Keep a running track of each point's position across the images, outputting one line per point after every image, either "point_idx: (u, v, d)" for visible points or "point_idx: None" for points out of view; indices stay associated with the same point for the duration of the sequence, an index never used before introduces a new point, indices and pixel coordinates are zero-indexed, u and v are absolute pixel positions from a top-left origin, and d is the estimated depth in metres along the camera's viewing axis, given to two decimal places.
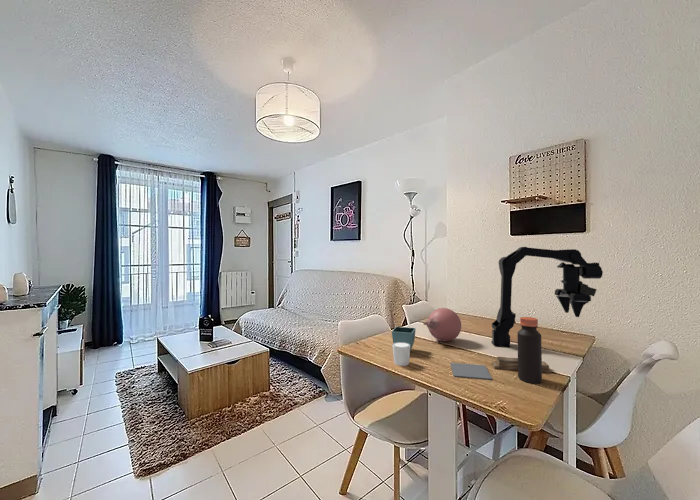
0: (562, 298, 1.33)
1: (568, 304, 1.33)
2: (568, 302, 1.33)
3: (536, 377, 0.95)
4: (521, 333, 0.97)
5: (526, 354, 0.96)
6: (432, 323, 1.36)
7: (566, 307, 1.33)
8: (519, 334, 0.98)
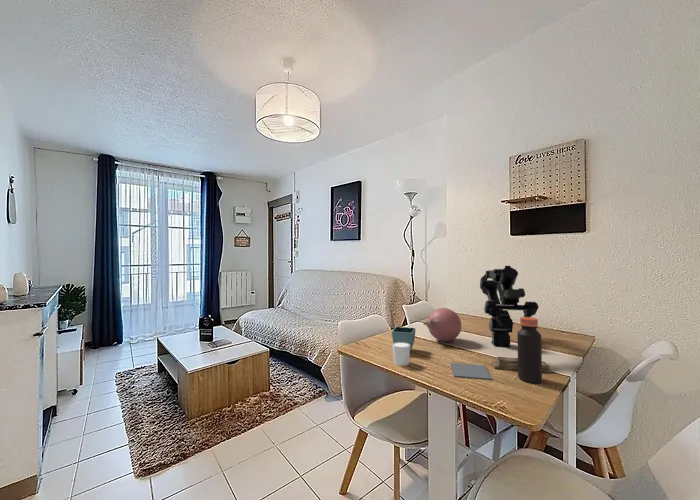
0: (524, 314, 1.18)
1: None
2: (526, 315, 1.16)
3: (536, 377, 0.95)
4: (521, 333, 0.97)
5: (526, 354, 0.96)
6: (432, 323, 1.36)
7: None
8: (519, 334, 0.98)
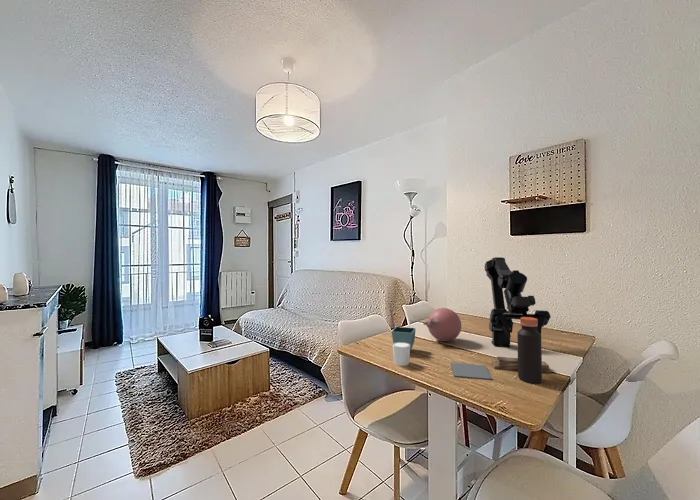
0: None
1: (537, 328, 1.03)
2: None
3: (536, 377, 0.95)
4: (521, 333, 0.97)
5: (526, 354, 0.96)
6: (432, 323, 1.36)
7: None
8: (519, 334, 0.98)
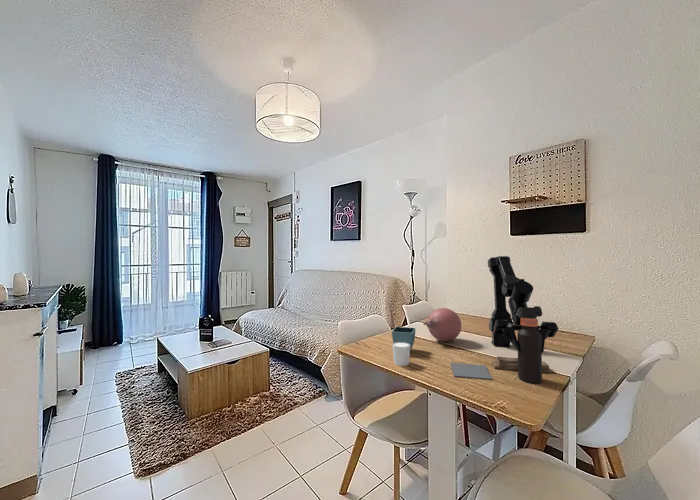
0: None
1: None
2: None
3: (536, 377, 0.95)
4: (521, 332, 0.97)
5: (526, 354, 0.96)
6: (432, 323, 1.36)
7: None
8: (519, 334, 0.98)
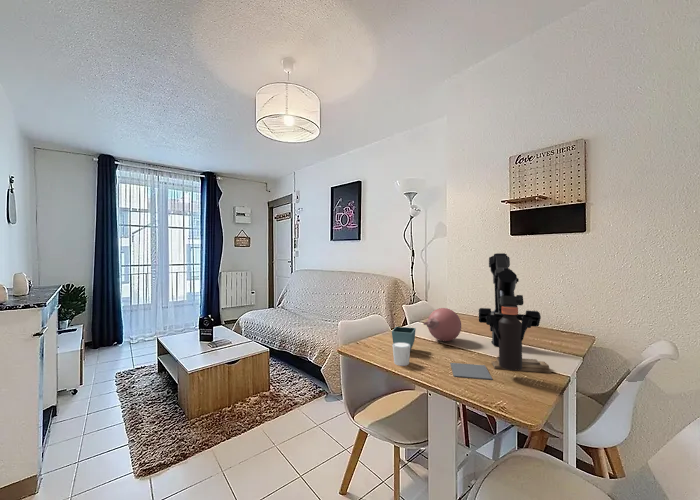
0: None
1: None
2: None
3: (515, 364, 0.96)
4: (501, 320, 0.99)
5: (505, 342, 0.97)
6: (432, 323, 1.36)
7: None
8: (499, 322, 1.00)
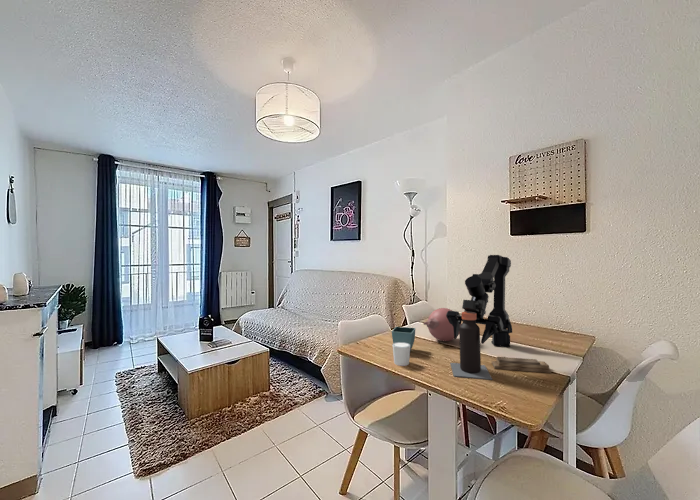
0: None
1: None
2: None
3: (470, 366, 1.02)
4: (460, 325, 1.06)
5: (462, 345, 1.04)
6: (432, 323, 1.36)
7: None
8: (459, 326, 1.07)
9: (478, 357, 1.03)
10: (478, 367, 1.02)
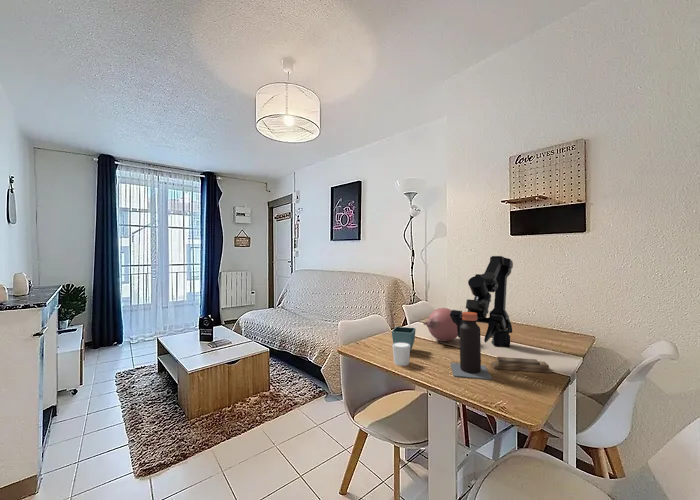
0: None
1: None
2: None
3: (470, 367, 1.02)
4: (461, 325, 1.06)
5: (462, 345, 1.04)
6: (432, 323, 1.36)
7: None
8: None
9: (478, 357, 1.02)
10: (478, 367, 1.02)
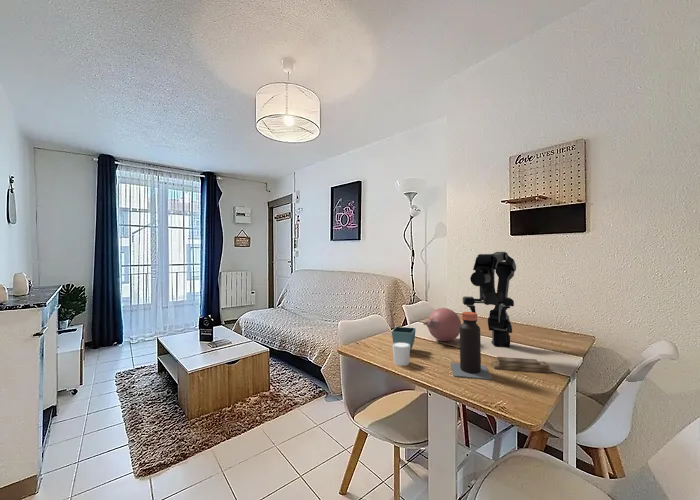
0: (499, 306, 1.23)
1: (500, 314, 1.21)
2: (500, 311, 1.21)
3: (470, 367, 1.02)
4: (461, 325, 1.06)
5: (462, 345, 1.04)
6: (432, 323, 1.36)
7: (499, 316, 1.22)
8: None
9: (478, 357, 1.02)
10: (478, 367, 1.02)
